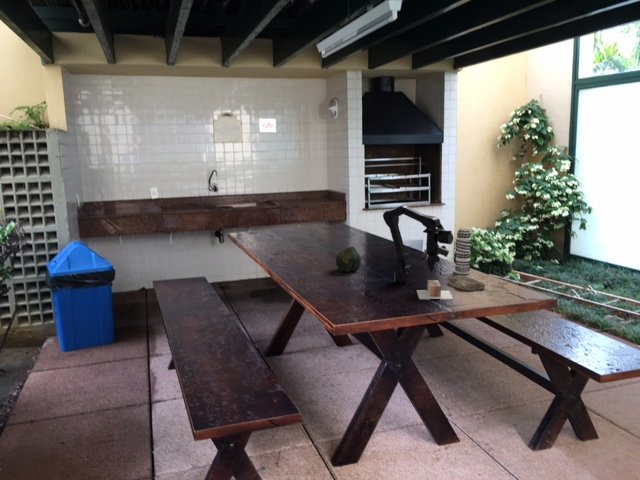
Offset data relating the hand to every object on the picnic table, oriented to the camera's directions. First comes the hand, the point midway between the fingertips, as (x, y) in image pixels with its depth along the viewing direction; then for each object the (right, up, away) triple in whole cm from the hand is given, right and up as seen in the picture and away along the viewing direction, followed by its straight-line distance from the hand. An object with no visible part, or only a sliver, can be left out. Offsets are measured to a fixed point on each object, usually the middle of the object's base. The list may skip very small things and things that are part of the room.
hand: (431, 271), depth 273 cm
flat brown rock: (+18, -8, +4) cm, 20 cm away
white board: (-1, -11, -13) cm, 17 cm away
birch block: (0, -6, -6) cm, 9 cm away
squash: (-41, -2, +39) cm, 56 cm away
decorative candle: (+25, -2, +32) cm, 41 cm away
